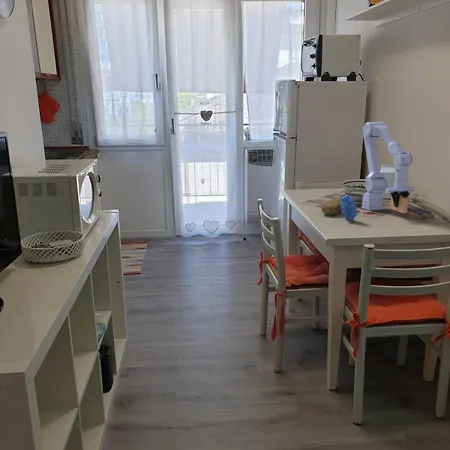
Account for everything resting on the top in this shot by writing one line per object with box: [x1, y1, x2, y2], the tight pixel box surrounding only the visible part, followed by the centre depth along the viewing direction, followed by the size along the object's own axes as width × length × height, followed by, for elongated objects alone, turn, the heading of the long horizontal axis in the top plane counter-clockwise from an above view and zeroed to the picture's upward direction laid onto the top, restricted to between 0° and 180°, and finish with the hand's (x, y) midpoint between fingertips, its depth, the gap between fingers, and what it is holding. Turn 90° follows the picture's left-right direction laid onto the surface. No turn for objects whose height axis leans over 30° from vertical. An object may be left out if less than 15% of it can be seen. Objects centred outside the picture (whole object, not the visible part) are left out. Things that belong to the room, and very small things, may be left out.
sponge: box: [320, 197, 342, 215], centre depth 235 cm, size 13×8×20 cm
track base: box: [402, 203, 436, 220], centre depth 229 cm, size 9×18×3 cm, turn 16°
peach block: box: [389, 196, 409, 214], centre depth 225 cm, size 2×10×7 cm, turn 16°
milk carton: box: [380, 163, 396, 200], centre depth 263 cm, size 7×7×19 cm
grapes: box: [340, 194, 358, 222], centre depth 220 cm, size 12×7×12 cm, turn 23°
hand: (398, 206), depth 225 cm, fingers closed on peach block, 2 cm apart
